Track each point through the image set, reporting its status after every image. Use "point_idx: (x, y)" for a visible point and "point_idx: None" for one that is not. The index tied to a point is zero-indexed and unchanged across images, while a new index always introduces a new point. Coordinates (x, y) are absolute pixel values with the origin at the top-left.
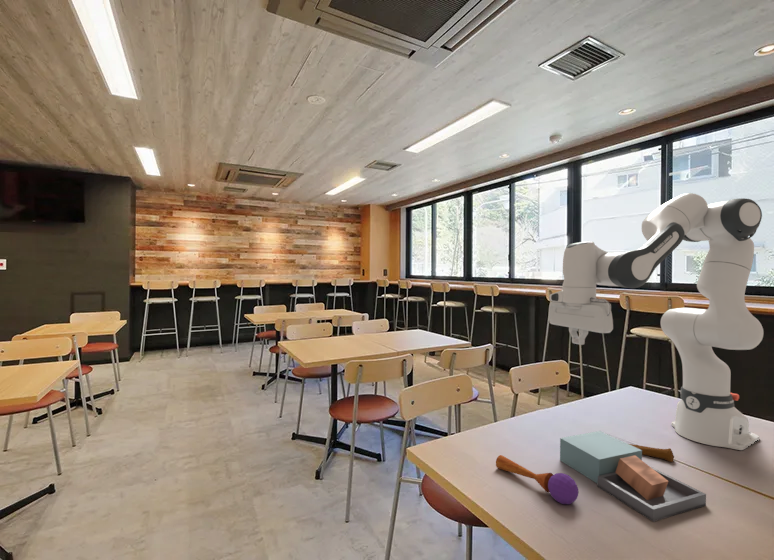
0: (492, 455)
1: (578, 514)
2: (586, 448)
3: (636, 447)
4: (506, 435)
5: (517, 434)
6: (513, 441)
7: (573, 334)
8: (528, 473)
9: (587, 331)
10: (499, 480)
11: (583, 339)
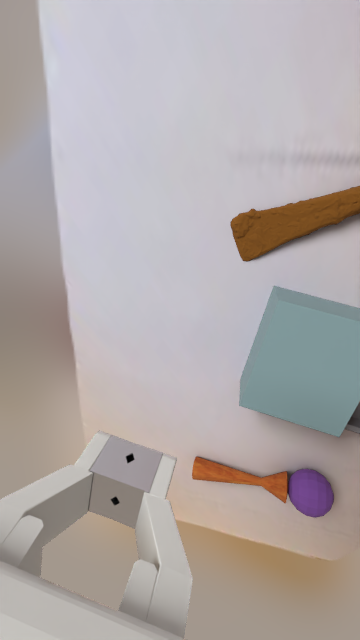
0: (164, 441)
1: (336, 488)
2: (300, 412)
3: (340, 215)
4: (121, 366)
5: (128, 346)
6: (146, 377)
7: (60, 523)
8: (250, 484)
9: (185, 613)
10: (220, 487)
11: (164, 499)
